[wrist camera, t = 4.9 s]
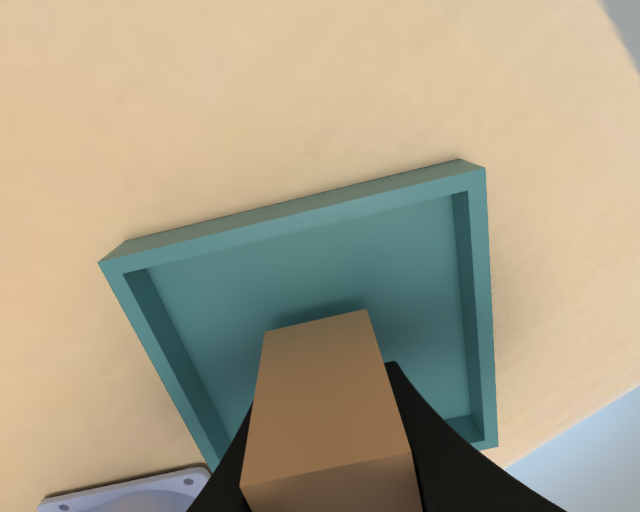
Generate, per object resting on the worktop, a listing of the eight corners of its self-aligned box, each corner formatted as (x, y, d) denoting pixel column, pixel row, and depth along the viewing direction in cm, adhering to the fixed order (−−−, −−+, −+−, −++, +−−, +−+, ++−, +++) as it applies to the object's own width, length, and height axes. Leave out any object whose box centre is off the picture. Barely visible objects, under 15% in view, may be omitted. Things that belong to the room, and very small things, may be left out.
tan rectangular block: (292, 406, 15) (286, 579, 10) (264, 331, 14) (239, 486, 8) (383, 386, 15) (430, 551, 9) (366, 308, 13) (411, 451, 8)
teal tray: (234, 463, 19) (227, 501, 17) (124, 241, 14) (97, 262, 12) (478, 412, 18) (498, 446, 17) (459, 158, 13) (485, 167, 11)
